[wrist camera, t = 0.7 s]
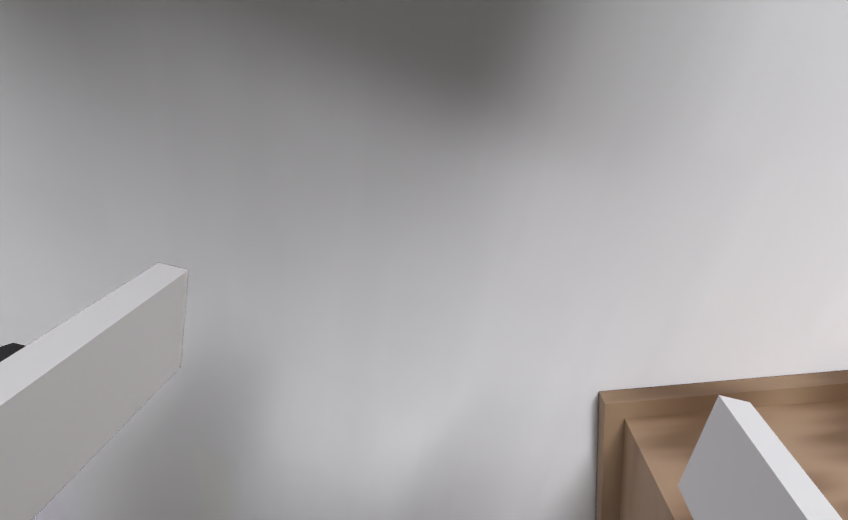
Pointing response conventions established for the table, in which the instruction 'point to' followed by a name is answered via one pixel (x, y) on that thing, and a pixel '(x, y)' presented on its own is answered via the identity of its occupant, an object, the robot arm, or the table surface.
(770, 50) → the table surface
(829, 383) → the stand
